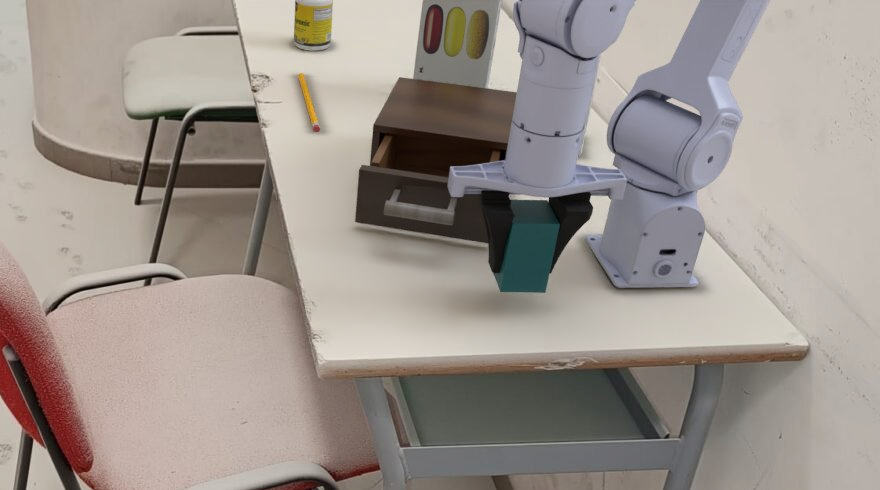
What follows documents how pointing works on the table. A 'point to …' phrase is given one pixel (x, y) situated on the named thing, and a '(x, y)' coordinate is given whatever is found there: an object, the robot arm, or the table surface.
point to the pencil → (309, 103)
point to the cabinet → (446, 114)
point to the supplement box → (457, 41)
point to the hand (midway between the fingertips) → (519, 267)
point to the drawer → (421, 188)
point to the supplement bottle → (313, 24)
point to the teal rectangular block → (528, 247)
